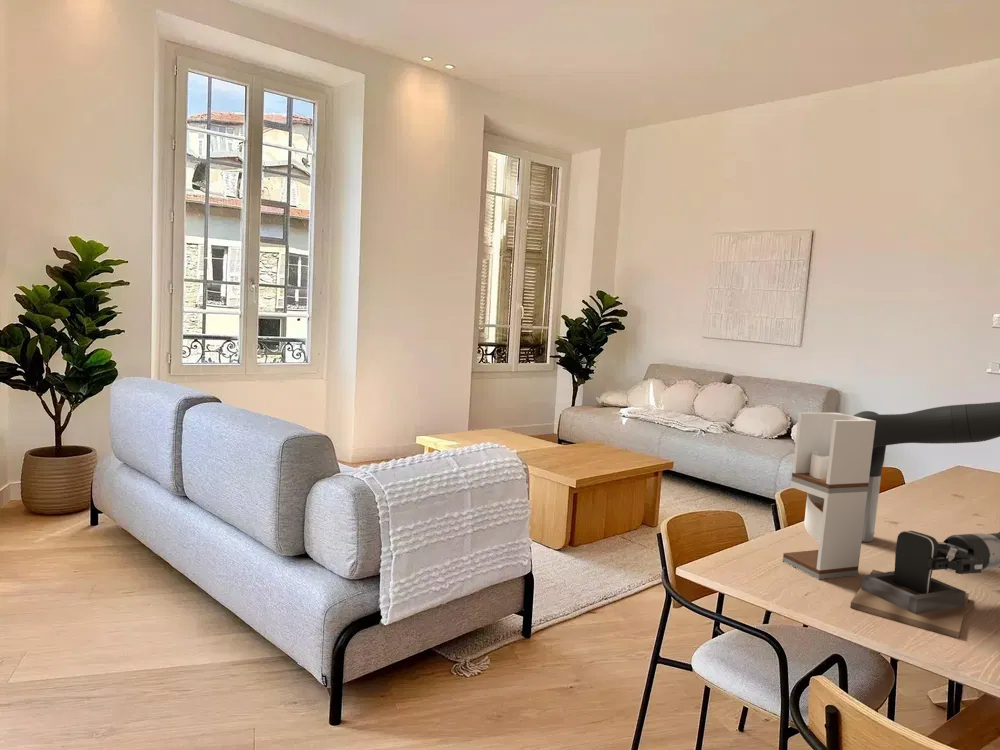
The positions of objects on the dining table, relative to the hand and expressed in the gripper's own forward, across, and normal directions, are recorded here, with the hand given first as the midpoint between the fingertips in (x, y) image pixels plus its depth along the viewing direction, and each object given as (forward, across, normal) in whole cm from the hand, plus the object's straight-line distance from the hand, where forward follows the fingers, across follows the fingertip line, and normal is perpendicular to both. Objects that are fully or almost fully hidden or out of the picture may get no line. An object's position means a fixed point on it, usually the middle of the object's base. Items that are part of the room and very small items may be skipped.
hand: (913, 557), depth 140 cm
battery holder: (-1, 0, +10) cm, 10 cm away
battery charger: (-1, 0, +7) cm, 7 cm away
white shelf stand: (+4, -20, +10) cm, 22 cm away
